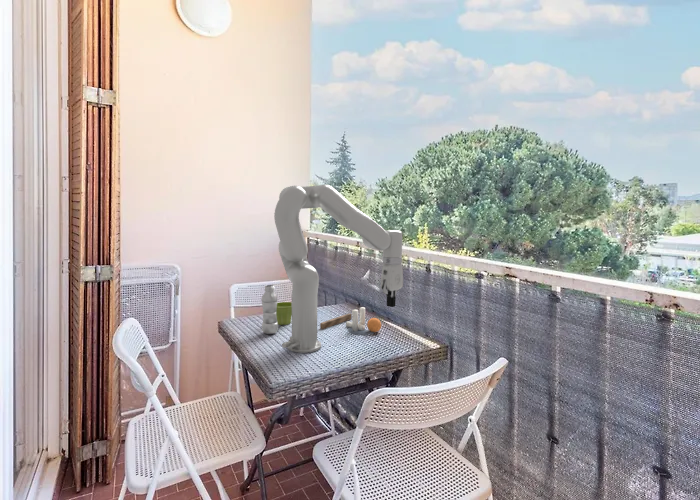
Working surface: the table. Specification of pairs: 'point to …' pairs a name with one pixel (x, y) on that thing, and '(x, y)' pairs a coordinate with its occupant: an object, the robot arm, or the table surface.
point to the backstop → (335, 321)
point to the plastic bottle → (269, 310)
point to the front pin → (360, 327)
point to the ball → (374, 325)
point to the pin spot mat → (360, 332)
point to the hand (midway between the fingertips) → (390, 306)
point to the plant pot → (284, 313)
